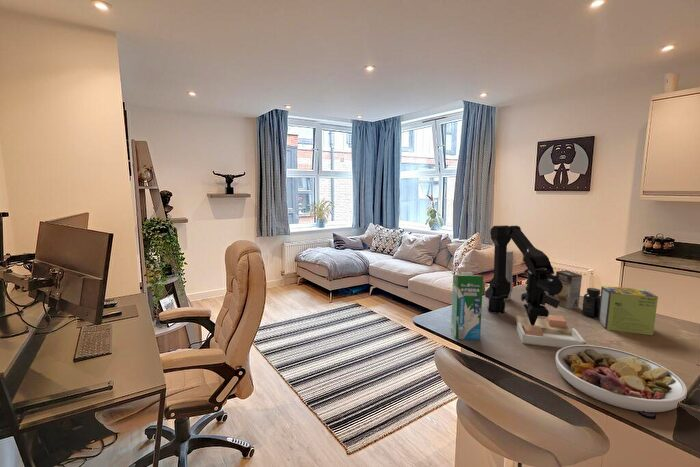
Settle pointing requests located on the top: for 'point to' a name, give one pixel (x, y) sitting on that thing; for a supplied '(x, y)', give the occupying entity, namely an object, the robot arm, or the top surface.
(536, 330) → the tile
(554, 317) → the tile
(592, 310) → the supplement bottle
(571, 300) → the coffee box
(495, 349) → the top surface
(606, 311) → the protein box
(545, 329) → the oak board
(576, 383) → the bowl
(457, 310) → the milk carton
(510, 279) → the water bottle
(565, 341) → the tray
